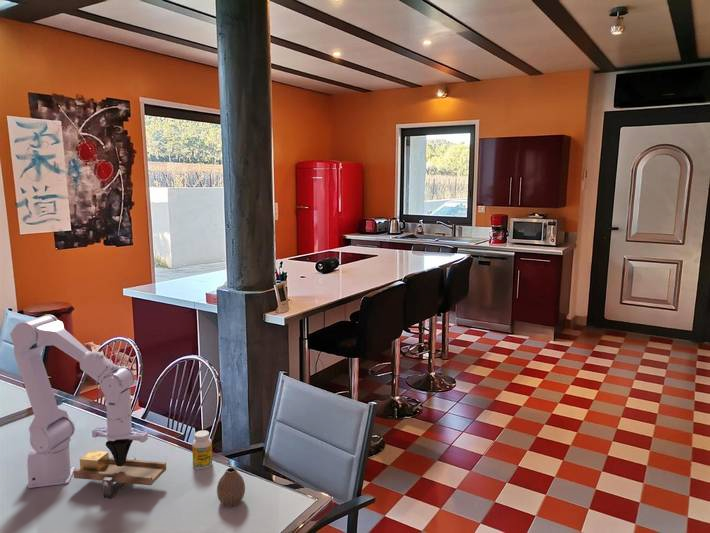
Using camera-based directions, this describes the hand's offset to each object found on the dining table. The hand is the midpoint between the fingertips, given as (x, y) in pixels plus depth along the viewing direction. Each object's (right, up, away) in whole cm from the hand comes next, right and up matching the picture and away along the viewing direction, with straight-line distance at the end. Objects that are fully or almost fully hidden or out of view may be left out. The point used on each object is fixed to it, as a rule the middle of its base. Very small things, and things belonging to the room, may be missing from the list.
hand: (121, 464), depth 134 cm
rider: (-8, -1, +1) cm, 8 cm away
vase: (+30, -8, -4) cm, 31 cm away
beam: (0, -2, 0) cm, 2 cm away
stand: (-1, -6, +1) cm, 6 cm away
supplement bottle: (+18, -5, +13) cm, 22 cm away
